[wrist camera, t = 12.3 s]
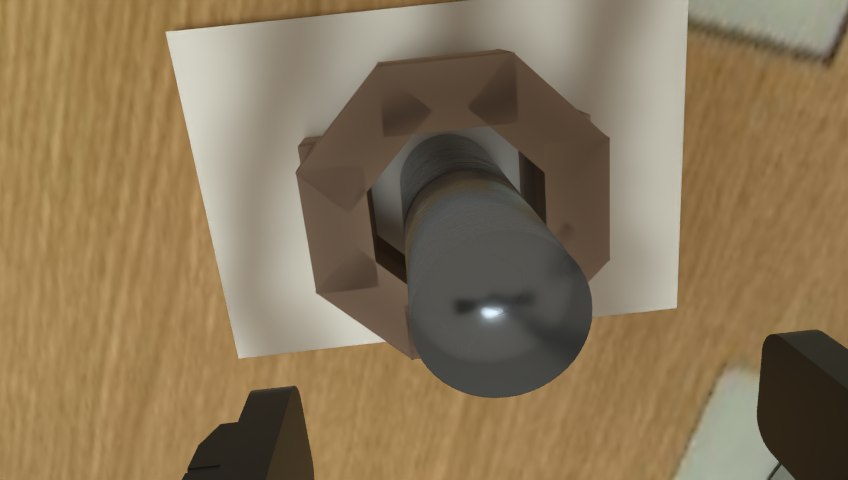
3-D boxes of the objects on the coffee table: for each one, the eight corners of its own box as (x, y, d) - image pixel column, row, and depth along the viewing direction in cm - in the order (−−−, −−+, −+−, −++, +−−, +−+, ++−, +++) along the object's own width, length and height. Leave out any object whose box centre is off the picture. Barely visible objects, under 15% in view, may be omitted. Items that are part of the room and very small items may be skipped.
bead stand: (677, -21, 25) (764, -35, 19) (667, 298, 29) (734, 363, 24) (174, 31, 24) (109, 33, 19) (243, 347, 29) (208, 425, 23)
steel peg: (492, 128, 25) (591, 220, 13) (498, 222, 27) (593, 386, 14) (394, 139, 25) (400, 241, 13) (405, 232, 26) (419, 407, 14)
